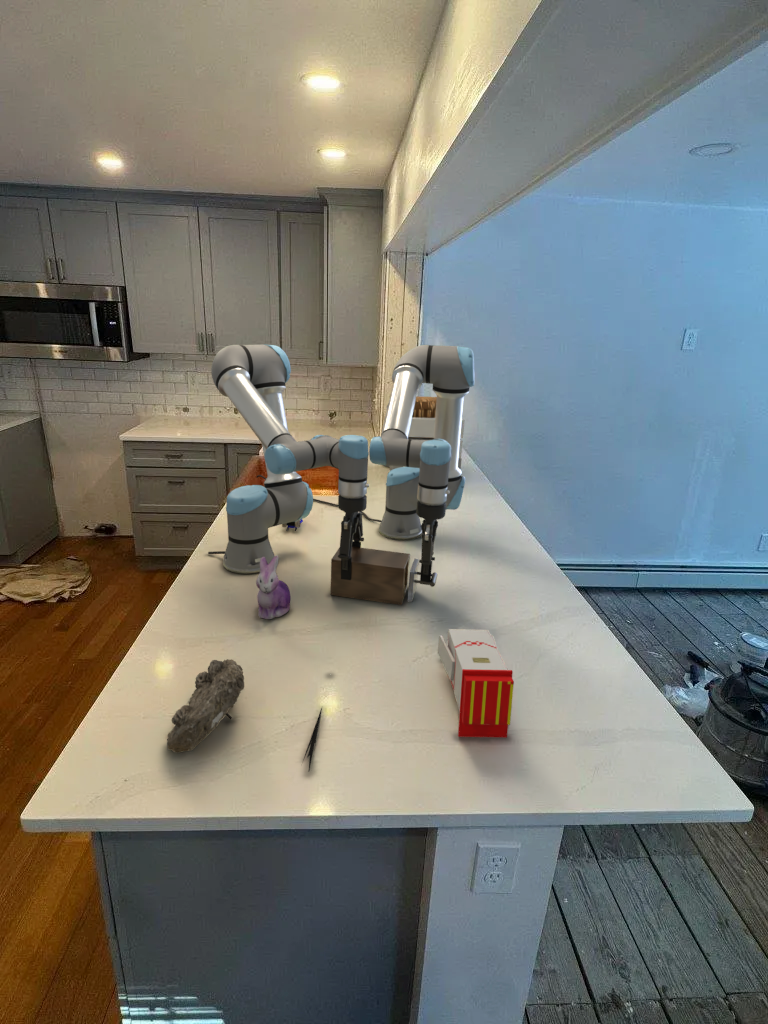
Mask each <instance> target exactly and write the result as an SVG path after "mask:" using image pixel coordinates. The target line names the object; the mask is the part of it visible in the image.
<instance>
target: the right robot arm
mask: <svg viewBox="0 0 768 1024" xmlns="http://www.w3.org/2000/svg"><path fill="white" fill-rule="evenodd" d="M391 381H392V384H393V385H392V388H391V392H390V396H389V400H388V403H389V404H387V405H388V408H387V407H386V413H385V416H384V421H383V425H382V430H381V432H380V433H381V434H380V435H379V436H373V437H372V438H371V439H370V442H369V448H368V452H369V455H368V458H369V461H370V462H371V463H372V464H374V465H379V466H384V467H387V466H386V465H388V466H402V467H400V468H396V469H393V470H391V471H390V470H389V472H388V473H387V475H386V482H385V504H384V505H385V507H384V508H385V509H384V513H383V515H382V519H376V518H370V517H369V516H368V515H367V514H366V513H365V512H364V511H362V516H364V517H365V518H366V519H367V520H368V521H371V522H378V523H379V526H378V533H379V534H380V535H381V536H382V537H385V538H387V539H389V540H395V541H410V540H415V539H418V538H420V537H421V550H420V551H421V554H420V557H421V558H420V559H419V562H418V564H421V565H420V572H421V575H419V576H420V578H419V580H420V581H427V582H430V581H431V577H432V576H431V574H432V570H433V561H436V557H434V549H435V539H436V536H437V529H438V526H439V520H442V519H444V518H445V517H446V511H447V510H451V511H452V510H453V511H454V510H455V511H456V510H457V509H459V508H460V505H461V502H462V498H463V493H464V488H465V484H466V477H465V476H463V474H462V469H461V470H460V469H459V468H458V458H459V446H460V439H461V438H460V435H461V423H462V419H463V410H464V399H465V397H466V396H467V395H468V394H469V392H470V388H472V387H474V386H475V355H474V351H473V349H472V348H471V347H466V346H459V345H457V346H456V345H435V344H434V345H432V344H421V345H417V346H415V347H413V348H411V349H409V350H408V351H406V352H405V353H404V354H403V355H402V356H401V357H400V358H399V359H398V361H397V362H396V363H395V364H394V367H393V370H392V374H391ZM423 384H430V385H432V391H433V393H434V394H435V395H436V397H437V400H436V415H435V430H434V440H428V441H425V440H412V439H408V436H409V431H410V426H411V421H412V416H413V411H414V406H415V401H416V397H417V395H418V391H419V390H420V388H421V387H422V385H423ZM259 477H260V478H262V479H263V480H264V481H265V480H266V479H267V477H265V476H263V475H262V474H257V475H256V478H259ZM313 502H318V503H321V504H326V505H330V506H334V507H338V503H333V502H330V501H329V502H328V501H325V500H320V499H316V498H313ZM421 519H422V523H421ZM419 585H422V584H421V583H419ZM423 585H425V586H429V585H428V584H423Z"/></svg>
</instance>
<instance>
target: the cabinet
mask: <svg viewBox="0 0 768 1024" xmlns="http://www.w3.org/2000/svg"><path fill="white" fill-rule="evenodd" d="M339 550H340V546H339V547H338V548H337V550H336V552H335V553H334V555H333V556H332V557H331V559H330V596H336V597H342V598H350V599H357V600H362V601H363V600H364V601H370V602H378V603H384V604H392V605H399V606H402V605H403V603H404V600H405V597H406V593H407V591H408V588H409V581H408V582H407V589H406V591H405V594H404V597H403V585H404V570H405V568H406V565H407V562H408V560H409V561H410V559H411V558H410V557H411V554H410V553H405V552H398V551H391V550H383V549H374V548H367V547H361V548H360V547H352V550H351V557H352V567H351V580H344V579H341V558H338V555H339ZM408 574H410V567H409V568H408Z"/></svg>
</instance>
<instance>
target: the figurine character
mask: <svg viewBox="0 0 768 1024" xmlns="http://www.w3.org/2000/svg"><path fill="white" fill-rule="evenodd" d="M303 522H304V520H303V519H300V520H298V521H296V522H289V523H285V524H281V528H285V531H286V532H289V530H290V529H294V532H297V530H298V528H300V527H301V524H302V523H303Z"/></svg>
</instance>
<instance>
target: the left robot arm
mask: <svg viewBox="0 0 768 1024" xmlns="http://www.w3.org/2000/svg"><path fill="white" fill-rule="evenodd" d="M291 372H292V368H291V363H290V359H289V357H288V355H287V353H286V352H285V351H284V350H283V348H282V347H280V346H278V345H275V344H267V343H263V344H262V343H261V344H231V345H227V346H225V347H223V348H221V349H220V350H219V351H218V352H217V353H216V355H215V356H214V357H213V360H212V363H211V368H210V373H211V378H212V381H213V384H214V386H215V387H216V390H218V392H219V393H220V394H221V395H222V396H223V397H226V398H228V399H229V401H230V402H231V403H232V405H233V406H234V407H235V409H236V410H237V411H238V413H239V414H240V416H241V417H242V419H243V420H244V421H245V422H246V424H247V425H248V426H249V428H250V429H251V431H252V432H253V433H254V435H255V436H256V437H257V439H258V440H259V442H260V443H261V446H262V447H261V448H262V453H263V458H264V463H265V468H266V469H265V470H266V475H267V477H266V480H265V479H264V482H263V485H260V484H252V485H250V484H248V485H242V486H239V487H236V488H234V489H232V490H231V491H230V492H229V493H228V495H227V497H226V506H225V511H226V519H227V522H226V523H227V539H228V540H227V544H226V548H225V550H224V551H223V550H221V551H215V550H214V551H208V552H207V554H208V555H223V559H222V561H223V563H222V564H223V567H224V569H225V570H227V571H229V572H231V573H234V574H239V575H241V574H242V575H250V574H251V575H252V574H260V559H261V558H262V557H265V559H266V561H267V563H268V564H269V563H270V562H271V560H272V559H273V558H274V557H275V556H276V555H275V553H274V550H273V547H272V544H271V542H270V539H269V529H270V528H273V527H277V526H282V524H285V523H289V522H296V521H298V520H300V519H302V520H303V519H306V518H307V517H309V515H310V513H311V512H312V509H313V505H314V500H313V499H314V495H313V490H312V489H311V487H310V486H309V483H307V482H306V481H303V477H302V476H301V475H300V474H299V473H298V472H302V471H305V470H311V469H312V470H313V469H318V468H323V467H332V468H334V469H337V470H338V482H337V483H338V484H337V485H338V486H337V487H338V490H337V492H338V494H339V495H338V497H337V499H338V501H337V505H338V506H337V507H338V509H339V510H340V511H342V512H344V515H343V517H342V520H341V522H340V538H339V547H340V550H339V555H338V558H341V579H344V580H351V567H352V557H351V550H352V547H360V548H362V542H364V541H365V537H363V536H364V531H363V530H364V527H363V514H362V512H364V511H365V510H367V504H368V503H367V501H368V500H367V499H368V497H367V492H368V491H367V490H368V488H369V487H370V483H367V482H368V471H369V470H368V468H369V467H368V466H369V464H368V463H369V441H368V439H367V438H366V437H365V436H363V435H357V434H347V435H346V434H345V435H342V436H340V437H339V439H338V438H336V437H334V436H330V435H328V434H327V435H326V434H325V435H324V434H317V435H315V436H313V437H312V438H310V439H307V440H299V441H298V440H296V439H295V437H294V436H292V434H291V433H290V431H289V427H288V422H287V415H286V409H285V404H284V403H285V402H284V399H283V393H284V391H285V390H286V388H287V387H286V386H287V385H286V383H287V382H288V381H289V380H290V378H291ZM300 521H301V520H300Z"/></svg>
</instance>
